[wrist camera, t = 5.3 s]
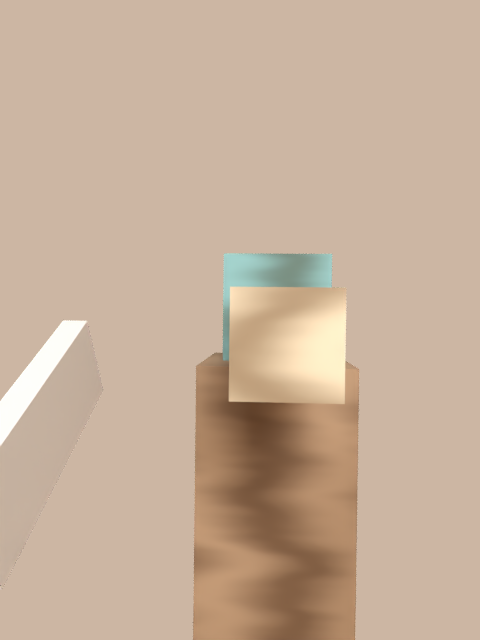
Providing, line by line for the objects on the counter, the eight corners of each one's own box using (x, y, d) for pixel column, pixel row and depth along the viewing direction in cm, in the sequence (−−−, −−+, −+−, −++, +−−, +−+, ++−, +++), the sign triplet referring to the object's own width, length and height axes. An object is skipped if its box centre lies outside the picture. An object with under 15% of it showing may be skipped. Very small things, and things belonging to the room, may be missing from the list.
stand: (189, 958, 23) (196, 365, 23) (210, 792, 31) (215, 352, 31) (350, 974, 22) (359, 369, 22) (328, 801, 30) (335, 354, 30)
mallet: (184, 400, 14) (187, 198, 13) (230, 351, 31) (231, 265, 31) (390, 405, 13) (393, 197, 13) (317, 353, 31) (319, 265, 31)
